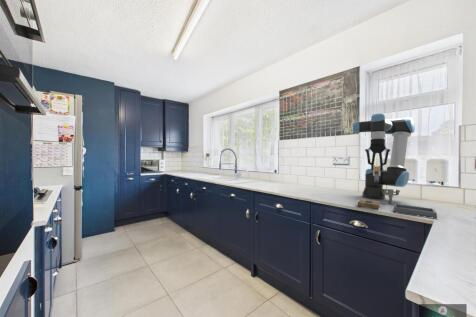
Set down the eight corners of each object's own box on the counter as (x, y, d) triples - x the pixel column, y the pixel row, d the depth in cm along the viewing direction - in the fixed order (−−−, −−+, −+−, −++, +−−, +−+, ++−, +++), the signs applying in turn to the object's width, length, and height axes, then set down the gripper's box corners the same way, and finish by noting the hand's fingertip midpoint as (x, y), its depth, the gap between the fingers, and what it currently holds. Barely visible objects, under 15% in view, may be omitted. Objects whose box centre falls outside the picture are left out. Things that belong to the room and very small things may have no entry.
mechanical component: (400, 204, 136) (400, 190, 135) (383, 203, 138) (383, 189, 137) (397, 203, 139) (397, 189, 138) (380, 202, 141) (381, 188, 140)
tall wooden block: (374, 181, 130) (375, 166, 130) (378, 181, 128) (379, 166, 128) (373, 182, 126) (374, 166, 126) (378, 182, 124) (378, 166, 124)
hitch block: (359, 203, 138) (360, 199, 138) (379, 206, 131) (379, 201, 131) (357, 206, 129) (357, 202, 129) (378, 209, 122) (378, 205, 122)
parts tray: (393, 208, 126) (394, 203, 126) (433, 213, 115) (433, 208, 115) (393, 212, 118) (394, 207, 118) (436, 218, 106) (436, 213, 106)
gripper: (362, 138, 129) (361, 175, 129) (392, 137, 119) (391, 177, 119) (364, 139, 134) (363, 174, 135) (393, 138, 125) (392, 176, 125)
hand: (376, 175), depth 127 cm, fingers closed on tall wooden block, 2 cm apart
